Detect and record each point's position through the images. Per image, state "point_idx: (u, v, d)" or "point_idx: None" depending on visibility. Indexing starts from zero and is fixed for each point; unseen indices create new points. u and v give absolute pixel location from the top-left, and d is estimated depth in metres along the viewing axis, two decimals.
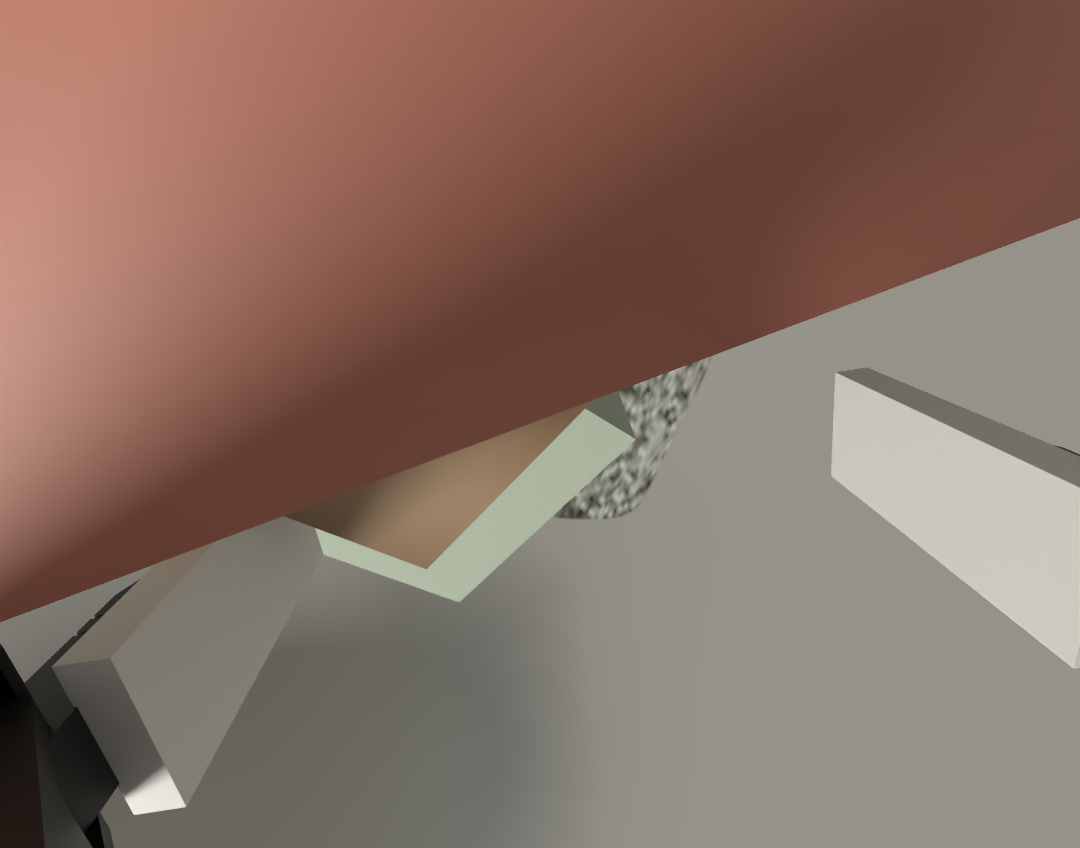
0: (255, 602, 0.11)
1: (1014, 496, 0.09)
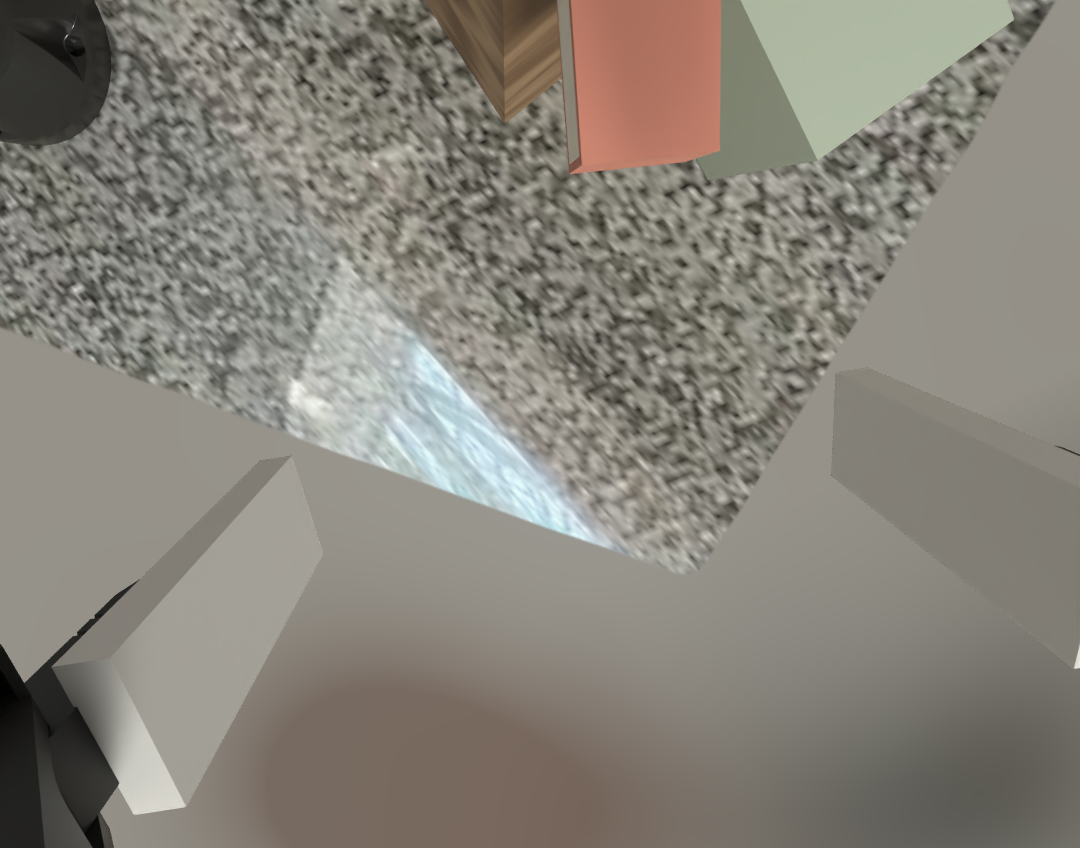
0: (255, 602, 0.11)
1: (1014, 496, 0.09)
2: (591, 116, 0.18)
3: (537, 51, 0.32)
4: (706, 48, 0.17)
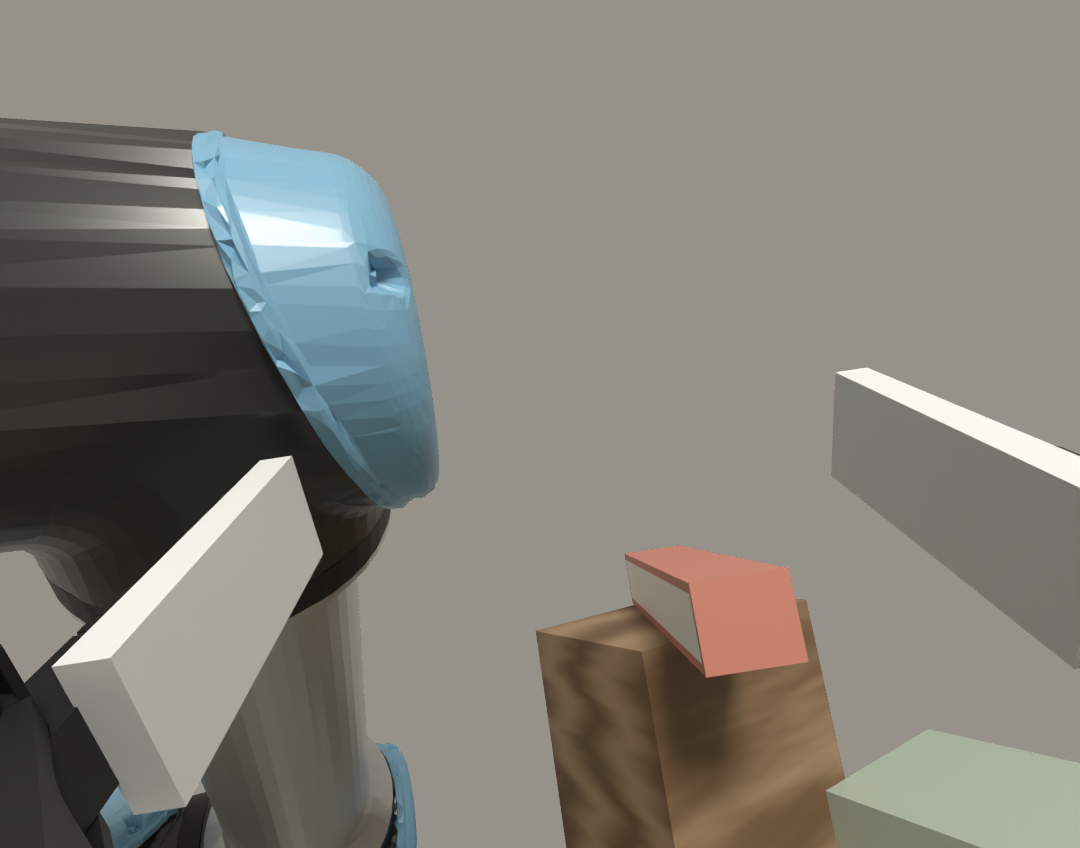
0: (255, 602, 0.11)
1: (1014, 496, 0.09)
2: (690, 578, 0.27)
3: None
4: (755, 564, 0.28)
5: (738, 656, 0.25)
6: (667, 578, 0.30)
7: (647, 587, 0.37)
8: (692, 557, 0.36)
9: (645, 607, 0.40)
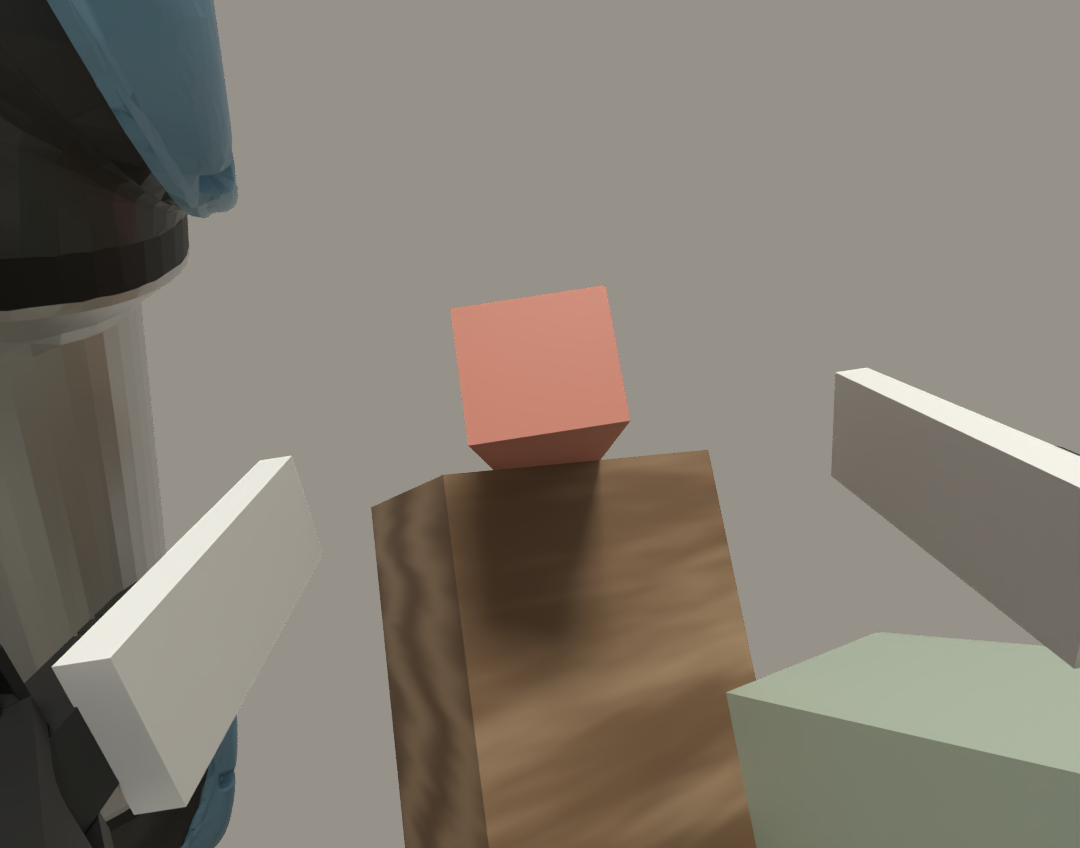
0: (255, 602, 0.11)
1: (1014, 496, 0.09)
2: None
3: (551, 840, 0.20)
4: None
5: (520, 413, 0.16)
6: None
7: None
8: None
9: None
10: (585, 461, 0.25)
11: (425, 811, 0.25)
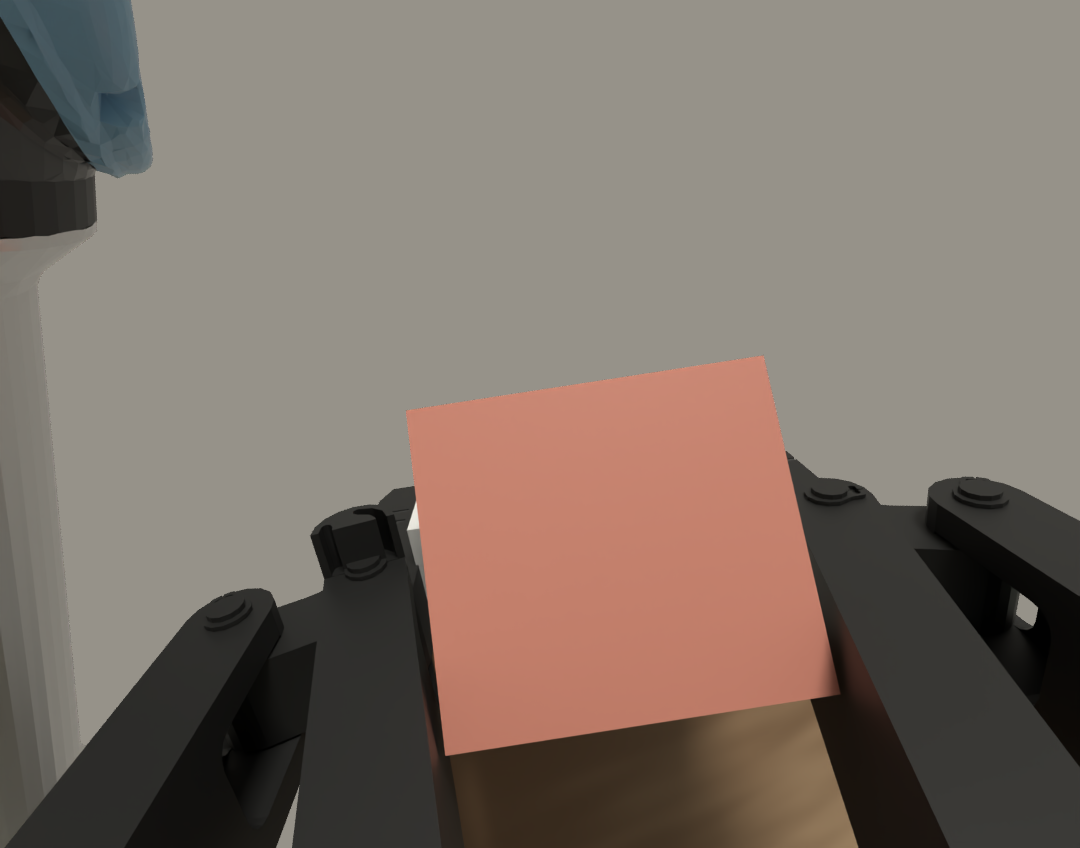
0: None
1: None
2: None
3: None
4: None
5: (571, 673, 0.07)
6: None
7: None
8: None
9: None
10: None
11: None
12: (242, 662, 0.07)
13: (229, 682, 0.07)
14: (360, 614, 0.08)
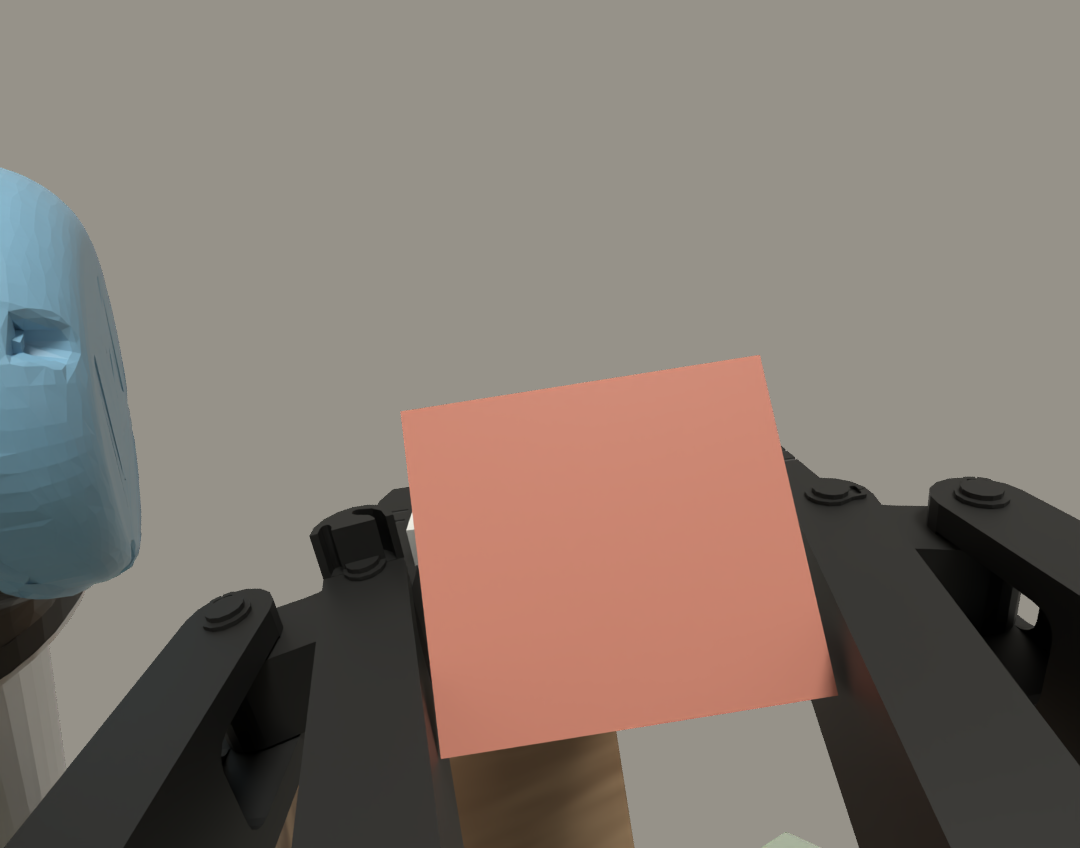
0: None
1: None
2: None
3: None
4: None
5: (568, 675, 0.06)
6: None
7: None
8: None
9: None
10: None
11: None
12: (241, 662, 0.07)
13: (228, 682, 0.07)
14: (359, 614, 0.08)
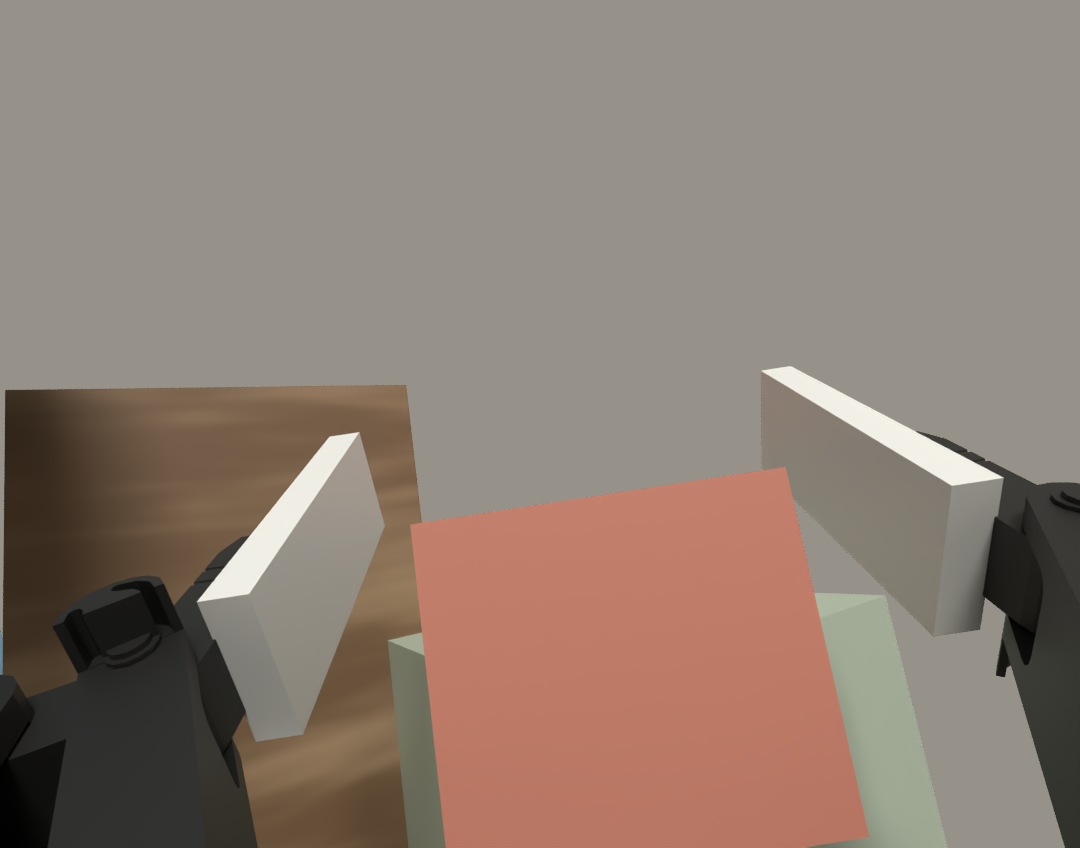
0: (340, 562, 0.12)
1: (888, 482, 0.10)
2: None
3: None
4: None
5: (585, 813, 0.06)
6: None
7: None
8: None
9: None
10: None
11: None
12: None
13: None
14: (124, 705, 0.07)
